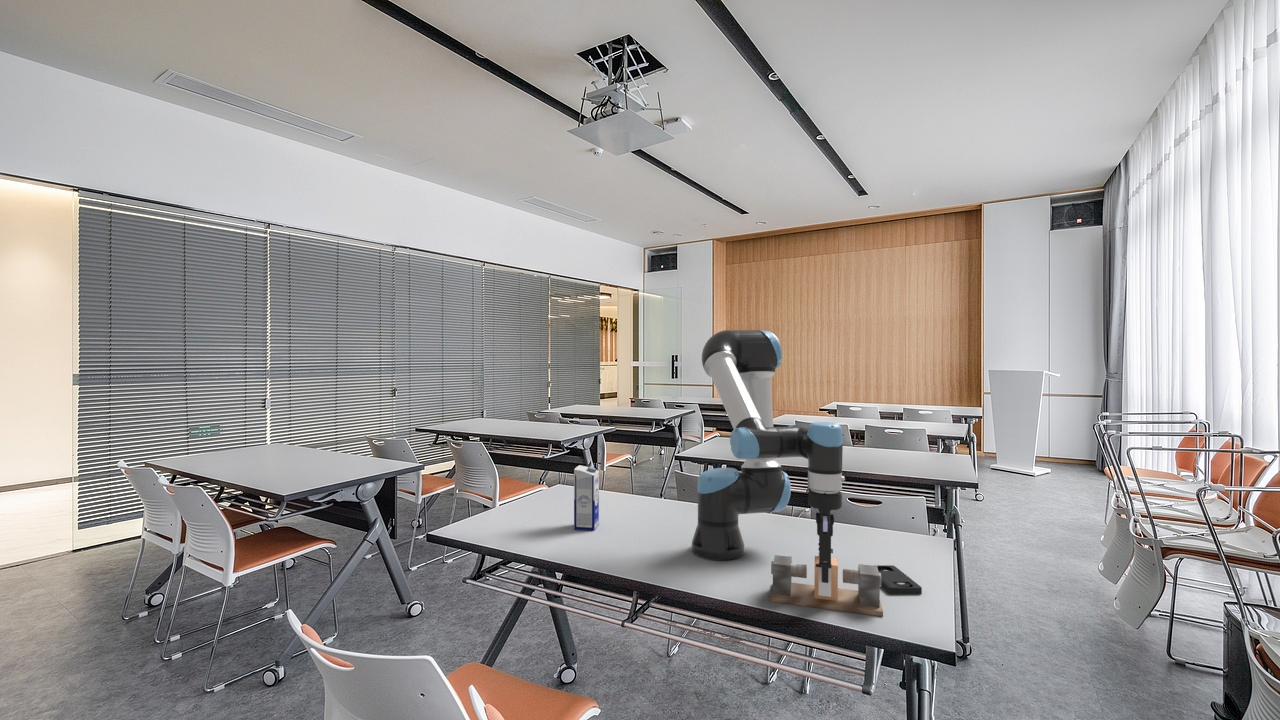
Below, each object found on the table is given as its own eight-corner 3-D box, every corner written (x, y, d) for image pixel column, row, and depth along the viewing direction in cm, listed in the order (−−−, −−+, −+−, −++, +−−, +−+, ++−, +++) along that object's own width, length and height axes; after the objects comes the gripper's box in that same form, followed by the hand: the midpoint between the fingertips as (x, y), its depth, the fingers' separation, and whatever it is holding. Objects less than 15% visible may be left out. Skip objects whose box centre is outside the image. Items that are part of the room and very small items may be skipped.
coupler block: (837, 601, 126) (837, 565, 126) (814, 598, 127) (814, 563, 127) (836, 592, 130) (837, 558, 130) (814, 589, 132) (814, 555, 132)
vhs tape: (922, 596, 132) (922, 587, 132) (889, 596, 132) (889, 587, 132) (893, 572, 146) (893, 565, 146) (863, 572, 146) (863, 565, 146)
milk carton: (579, 523, 187) (579, 464, 187) (598, 524, 186) (598, 464, 186) (573, 530, 180) (573, 468, 180) (594, 531, 179) (594, 469, 179)
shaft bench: (769, 601, 128) (769, 566, 128) (773, 584, 137) (773, 552, 137) (883, 616, 120) (883, 579, 120) (878, 597, 130) (878, 563, 130)
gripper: (844, 502, 118) (843, 609, 118) (840, 481, 137) (840, 573, 137) (807, 499, 120) (806, 604, 120) (808, 479, 140) (808, 569, 140)
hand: (824, 587), depth 129 cm, fingers open, 8 cm apart
